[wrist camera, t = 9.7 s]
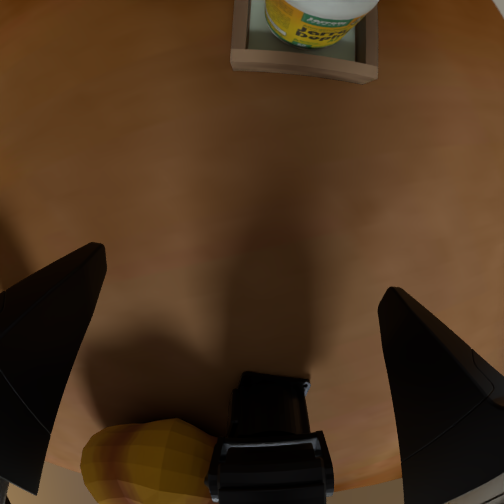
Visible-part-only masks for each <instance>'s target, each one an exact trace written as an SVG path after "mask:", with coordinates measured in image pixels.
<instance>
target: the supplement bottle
mask: <svg viewBox="0 0 504 504" xmlns="http://www.w3.org/2000/svg"><path fill="white" fill-rule="evenodd" d="M378 2H379V0H265V19H266V22H267V25H268V27H269V28H270V30H271V32H272V33H273V34H274V35H275V36H276V37H277V38H279V39H280V40H281V41H283V42H284V43H286V44H288V45H290V46H292V47H295V48H298V49H302V50H310V51H312V50H321V49H325V48H328V47H330V46H332V45H334V44H335V43H337V42H338V41H339V40H340V39H342V38H343V37H344V36H345V35H346V34H347V32H349V31H350V30H351V29H352V28H353V27H354V26H355V25H356V24H357V23H358V22H359V21H360V20H361V19H362V18H363V17H365V15H367V14H368V13H369V12H370V11H371V10H372V9H373V8H374V7H375V6H376V4H377V3H378Z"/></svg>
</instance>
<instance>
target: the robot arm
mask: <svg viewBox="0 0 504 504" xmlns="http://www.w3.org/2000/svg"><path fill="white" fill-rule="evenodd" d="M106 271H107V263H106V253H105V247H104V245H103V244H101V243H95V242H91V243H88V244H87V245H85V246H83V247H81V248H79V249H77V250H75V251H73V252H71V253H70V254H68V255H66V256H64V257H62V258H60V259H59V260H57V261H55V262H53V263H51V264H49V265H48V266H46V267H44V268H42V269H41V270H39V271H37V272H35V273H34V274H32V275H30V276H28V277H27V278H25V279H23V280H22V281H20V282H18V283H17V284H15V285H13V286H12V287H10V288H8V289H7V290H6V292H5V291H3V292H2V293H0V504H11V503H10V501H9V499H8V497H7V490H8V486H9V482H10V483H12V484H14V485H16V486H17V487H19V488H21V489H23V490H25V491H27V492H30V493H31V494H34V495H37V493H38V488H39V483H40V478H41V473H42V469H43V464H44V460H45V456H46V452H47V448H48V444H49V440H50V436H51V435H50V434H51V432H52V429H53V425H54V422H55V418H56V415H57V411H58V408H59V405H60V402H61V399H62V396H63V393H64V390H65V387H66V384H67V381H68V378H69V375H70V372H71V369H72V367H73V364H74V361H75V358H76V356H77V353H78V351H79V348H80V345H81V343H82V340H83V338H84V335H85V333H86V330H87V328H88V325H89V323H90V321H91V318H92V316H93V313H94V310H95V306H96V303H97V300H98V297H99V293H100V290H101V287H102V284H103V281H104V278H105V275H106ZM378 317H379V325H380V333H381V341H382V349H383V354H384V359H385V364H386V369H387V374H388V379H389V384H390V390H391V395H392V401H393V407H394V413H395V420H396V426H397V433H398V441H399V448H400V457H401V467H402V478H403V490H404V504H445V503H447V502H448V504H504V376H503V375H501V374H500V373H499V372H498V371H497V370H496V369H494V368H493V367H492V366H491V365H490V364H489V363H487V362H486V361H485V360H484V359H483V358H482V357H481V356H480V355H478V354H477V353H476V352H475V351H474V350H473V349H471V347H470V346H469V345H467V344H466V343H465V342H464V341H463V340H462V339H461V338H460V337H458V336H457V335H456V334H455V333H454V332H453V331H452V330H450V329H449V328H448V327H447V326H446V325H445V324H444V323H442V322H441V321H440V320H439V319H438V318H437V317H435V316H434V315H433V314H432V313H431V312H430V311H428V310H427V309H426V308H425V307H424V306H422V305H421V304H420V303H419V302H418V301H416V300H415V299H414V298H413V297H412V296H410V295H409V294H408V293H407V292H405V291H404V290H403V289H402V288H400V287H389V288H388V289H387V291H386V293H385V294H384V296H383V298H382V300H381V301H380V303H379V306H378ZM246 377H248V378H246ZM304 384H306V385H304ZM310 386H311V384H310V381H309V380H307V379H298V378H289V377H281V376H273V375H266V374H258V373H252V372H244V373H242V375H241V378H240V382H239V386H238V389H237V388H235V389H234V390H233V392H232V395H231V399H230V403H229V410H228V422H227V434H226V435H227V436H228V438H225V437H218V439H217V443H216V444H215V446H214V450H213V454H212V458H211V462H210V466H209V470H208V472H207V474H206V476H205V478H204V484H205V485H206V486H207V487H208V488H209V491H210V494H211V498H212V501H213V502H216V503H219V504H326V497H329V496H332V495H333V491H334V473H333V466H332V461H331V458H330V454H329V451H328V447H327V444H326V441H325V437H324V434H323V431H316V432H313V433H311V432H310V425H309V419H308V412H307V406H306V400H305V396H306V394H307V392H308V390H309V388H310Z"/></svg>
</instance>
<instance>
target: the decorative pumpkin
mask: <svg viewBox="0 0 504 504" xmlns="http://www.w3.org/2000/svg"><path fill="white" fill-rule="evenodd" d="M217 439H218V437H215V436H211V435H209V434H207V433H205V432H204V431H202V430H200V429H199V428H197V427H195V426H194V425H191V424H189V423H187V422H185V421H183V420H181V419H179V418H174V419H165V420H158V421H154V422H149V423H144V424H139V423H130V424H122V425H115V426H110V427H106V428H104V429H103V430H101V431H99V432H98V433H96V434H94V435H93V436H92V437H91V439H90V440H89V441H88V443H87V444H86V446H85V447H84V448H83V452H82V458H81V464H80V467H81V472H82V475H83V480H84V484H85V486H86V487H87V489H88V490H89V491H90V493H91V494H92V496H93V497H94V499H95V500H96V501H97V502H98V503H99V504H219V503H216V502H213V501H212V498H211V494H210V491H209V488H208V487H207V486H206V485H205V484H204V478H205V476H206V474H207V472H208V470H209V466H210V462H211V458H212V454H213V450H214V446H215V444H216V443H217Z"/></svg>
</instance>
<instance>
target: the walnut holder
mask: <svg viewBox="0 0 504 504" xmlns="http://www.w3.org/2000/svg"><path fill="white" fill-rule="evenodd" d="M230 63H231V65H232V68H233V71H257V72H273V73H285V74H295V75H305V76H313V77H320V78H327V79H334V80H340V81H346V82H352V83H357V84H362V85H363V84H365V83H368V82H370V81H373V80H376V79H378V11H377V4H376V6H375V7H374V8H373V9H372V10H371V11H370V12H369V13H368V14H367V15H365V17H363V18H362V19H361V20H360V21H359V22H358V23H357V24H356V25H355V26H354V27H353V28H352V29H351V30H350V31H349V32H347V34H346V35H345V36H344V37H343V38H342V39H340V40H339V41H338V42H337V43H335V44H334V45H332V46H330V47H328V48H325V49H321V50H312V51H310V50H302V49H298V48H295V47H292V46H290V45H288V44H286V43H284V42H283V41H281V40H280V39H279V38H277V37H276V36H275V35H274V34H273V33H272V32H271V30H270V28H269V27H268V25H267V22H266V19H265V0H235V2H234V14H233V27H232V41H231V55H230Z"/></svg>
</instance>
